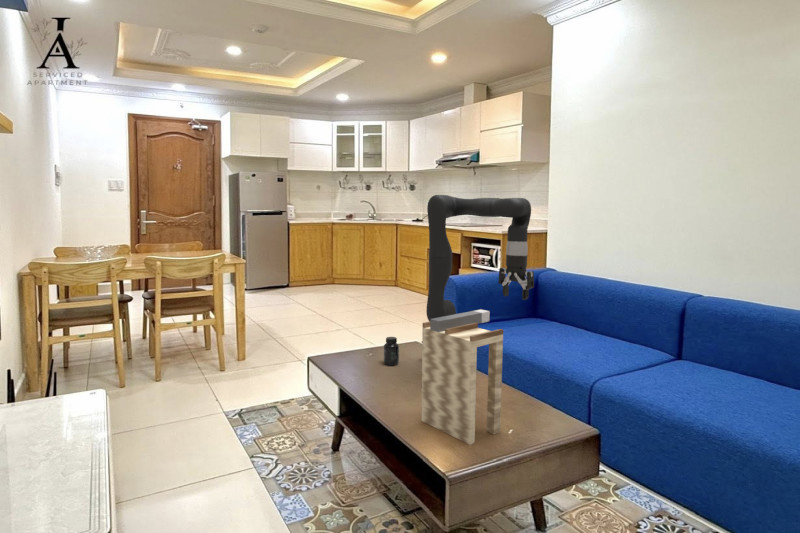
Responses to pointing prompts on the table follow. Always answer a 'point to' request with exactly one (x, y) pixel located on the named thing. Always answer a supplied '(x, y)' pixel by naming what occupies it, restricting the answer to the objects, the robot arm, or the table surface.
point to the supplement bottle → (391, 352)
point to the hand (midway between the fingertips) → (515, 297)
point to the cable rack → (459, 379)
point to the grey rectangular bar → (459, 320)
